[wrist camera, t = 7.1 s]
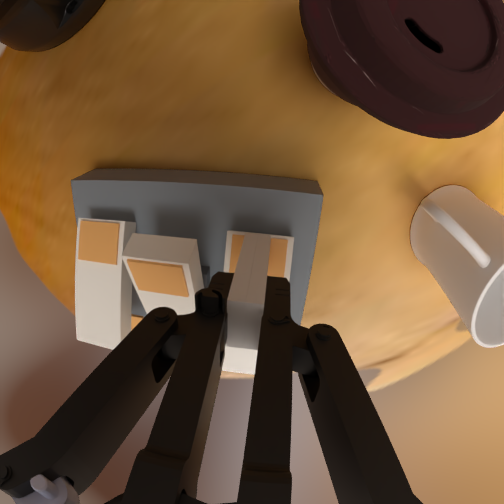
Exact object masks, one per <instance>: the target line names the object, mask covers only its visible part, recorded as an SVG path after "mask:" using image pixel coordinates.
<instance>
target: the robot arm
mask: <svg viewBox="0 0 504 504" xmlns="http://www.w3.org/2000/svg"><path fill="white" fill-rule="evenodd" d="M103 2H104V0H0V42H1V43H3V44H5V45H7V46H9V47H11V48H13V49H15V50H19V51H44V50H48V49H51V48H53V47H55V46H58V45H59V44H61V43H63V42H64V41H66V40H67V39H69V38H70V37H71V36H73V35H74V34H75V33H76V32H78V31H79V30H80V29H81V28H82V27H83V26H84V25H85V24H86V23H87V22H88V21H89V20H90V19H91V17H92V16H93V15H94V14H95V13H96V11H97V10H98V9H99V8H100V6H101V5H102V3H103ZM270 242H271V236H270V235H260V234H250V233H245V236H244V240H243V244H242V247H241V251H240V255H239V258H238V262H237V265H236V269H235V273H229V272H220V271H218V272H217V273H216V274H214V275H213V276H212V278H211V281H210V284H209V286H208V288H204V289H201V290H199V291H197V292H196V293H195V295H194V296H195V312H193V313H190V314H184V315H177V313H176V312H175V310H173V309H171V308H169V307H158V308H155V309H153V310H151V311H150V312H149V313H148V314H147V315H146V316H145V317H144V318H143V319H142V320H141V321H140V322H139V323H138V324H137V325H136V326H135V327H134V328H133V330H132V331H131V332H130V333H129V334H128V335H127V336H126V337H125V338H124V339H123V340H122V341H121V342H120V343H119V344H118V345H117V346H116V347H115V348H114V350H113V351H112V352H111V353H110V354H109V355H108V356H107V357H106V358H105V359H104V360H103V361H102V362H101V363H100V365H99V366H98V367H97V368H96V369H95V370H94V371H93V372H92V373H91V374H90V375H89V376H88V378H86V380H85V381H84V382H83V383H82V384H81V385H80V386H79V387H78V388H77V389H76V391H75V392H74V393H73V394H72V395H71V396H70V397H69V398H68V399H67V400H66V402H65V403H64V404H63V405H62V406H61V407H60V408H59V409H58V410H57V412H56V413H55V414H54V415H53V416H52V417H51V418H50V420H49V421H48V422H47V423H46V424H45V425H44V426H43V427H42V429H41V430H40V431H39V432H38V433H37V434H36V436H35V437H33V438H31V439H30V440H28V441H26V442H24V443H22V444H21V445H19V446H17V447H15V448H13V449H11V450H9V451H8V452H6V453H4V454H2V455H0V489H1V490H2V491H4V492H5V493H7V494H8V495H10V496H11V497H12V498H13V500H14V501H15V503H16V504H80V500H79V496H78V495H80V494H81V493H82V492H84V491H85V490H86V489H87V488H88V487H89V486H90V485H91V484H92V483H93V482H94V480H95V479H96V478H97V477H98V476H99V474H100V473H101V471H102V470H103V468H104V467H105V466H106V465H107V463H108V462H109V460H110V459H111V458H112V456H113V455H114V454H115V452H116V451H117V449H118V448H119V447H120V445H121V444H122V443H123V441H124V440H125V438H126V437H127V436H128V434H129V433H130V431H131V430H132V429H133V427H134V426H135V425H136V423H137V422H138V420H139V419H140V418H141V416H142V415H143V414H144V412H145V411H146V409H147V408H148V406H149V405H150V404H151V402H152V401H153V400H154V398H155V397H156V395H157V394H158V393H159V391H160V390H161V389H162V387H163V386H164V384H165V383H166V382H167V380H168V379H169V377H170V376H171V377H170V380H169V383H168V386H167V388H166V391H165V394H164V397H163V400H162V402H161V405H160V408H159V411H158V414H157V417H156V420H155V423H154V426H153V428H152V431H151V434H150V437H149V440H148V443H147V446H146V447H145V449H142V450H140V451H139V453H138V454H137V456H136V459H135V462H134V465H133V468H132V470H131V473H130V477H129V480H128V482H127V486H126V489H125V492H124V493H123V494H121V495H118V496H117V497H115V498H113V499H112V500H110V501H108V502H106V503H104V504H207V503H204V502H201V501H199V500H197V499H196V495H197V482H198V477H199V472H200V468H201V463H202V458H203V454H204V449H205V444H206V440H207V435H208V430H209V426H210V421H211V417H212V412H213V407H214V403H215V398H216V394H217V389H218V384H219V380H220V375H221V371H222V366H223V361H224V357H225V345H226V346H228V347H236V348H244V349H253V350H258V352H257V360H256V368H255V376H254V385H253V392H252V400H251V407H250V415H249V422H248V429H247V437H246V445H245V451H244V459H243V465H242V472H241V478H240V485H239V492H238V499H237V502H234V503H223V504H291V490H292V475H291V472H290V444H291V414H292V413H291V412H292V371H295V372H298V376H299V379H300V382H301V385H302V388H303V391H304V395H305V398H306V401H307V404H308V407H309V410H310V413H311V417H312V420H313V423H314V426H315V429H316V432H317V436H318V439H319V442H320V445H321V448H322V451H323V455H324V457H325V461H326V464H327V467H328V471H329V473H330V477H331V480H332V483H333V487H334V490H335V493H336V496H337V499H338V503H339V504H423V503H422V502H421V501H420V500H419V499H418V498H417V497H416V496H415V495H414V494H413V492H412V490H411V488H410V485H409V483H408V480H407V478H406V476H405V473H404V471H403V469H402V467H401V464H400V462H399V460H398V457H397V455H396V453H395V451H394V448H393V446H392V444H391V442H390V440H389V437H388V435H387V433H386V431H385V429H384V426H383V424H382V422H381V420H380V417H379V416H378V413H377V411H376V409H375V407H374V405H373V403H372V401H371V398H370V396H369V394H368V392H367V390H366V388H365V386H364V384H363V382H362V379H361V378H360V375H359V373H358V371H357V369H356V367H355V365H354V363H353V361H352V359H351V357H350V355H349V353H348V351H347V349H346V347H345V345H344V343H343V341H342V339H341V337H340V335H339V333H338V331H337V330H336V329H335V328H333V327H332V326H330V325H327V324H316V325H313V326H312V327H310V329H308V328H305V327H302V326H300V325H298V324H297V323H295V322H294V321H293V319H292V317H291V296H290V295H291V294H290V282H289V281H288V280H287V278H284V277H274V276H267V272H268V262H269V252H270Z"/></svg>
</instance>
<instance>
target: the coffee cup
mask: <svg viewBox="0 0 504 504" xmlns="http://www.w3.org/2000/svg"><path fill="white" fill-rule="evenodd" d="M299 10H300V17H301V23H302V26H303V30H304V34H305V37H306V39H307V46H308V53H309V57H310V61H311V65H312V68H313V70H314V73H315V74H316V76H317V78H318V79H319V81H320V82H321V83H322V84H323V85H324V86H325V87H326V88H327V89H328V90H329V91H330V92H332V93H333V94H335V95H336V96H338V97H340V98H341V99H343V100H345V101H347V102H349V103H351V104H353V105H356V106H358V107H359V108H361V109H362V110H364V111H365V112H367V113H368V114H370V115H371V116H373V117H375V118H376V119H378V120H380V121H382V122H384V123H386V124H388V125H390V126H393V127H395V128H398V129H401V130H404V131H407V132H411V133H414V134H418V135H421V136H426V137H432V138H442V139H451V138H461V137H465V136H469V135H472V134H475V133H477V132H479V131H481V130H483V129H485V128H486V127H488V126H489V125H491V124H492V123H493V122H494V121H495V120H496V119H497V118H498V117H499V116H500V115H501V114H502V112H503V111H504V3H503V1H502V0H299Z"/></svg>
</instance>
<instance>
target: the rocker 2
mask: <svg viewBox="0 0 504 504" xmlns="http://www.w3.org/2000/svg"><path fill="white" fill-rule="evenodd" d="M121 256H122V259H123V261H124V264H125V266H126V268H127V271H128V273H129V275H130V278H131V280H132V282H133V285H134V287H135V289H136V291H137V294H138V296H139V298H140V300H141V302H142V304H143V307H144V309H145V311H146V313H147V314H148V313H149V312H150V311H151V310H153V309H155V308H158V307H169V308H171V309H173V310H175V312H176V313H177V315H184V314H190V313H193V312H195V296H194V295H195V293H196V292H197V291H199V290H201V289H204V284H203V278H202V271H201V265H200V258H199V252H198V245H197V239H190V238H179V237H169V236H159V235H148V234H138V233H132V235H131V237H130V239H129V241H128V243H127V245H126V247H125V249H124V251H123V253H122V255H121Z"/></svg>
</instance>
